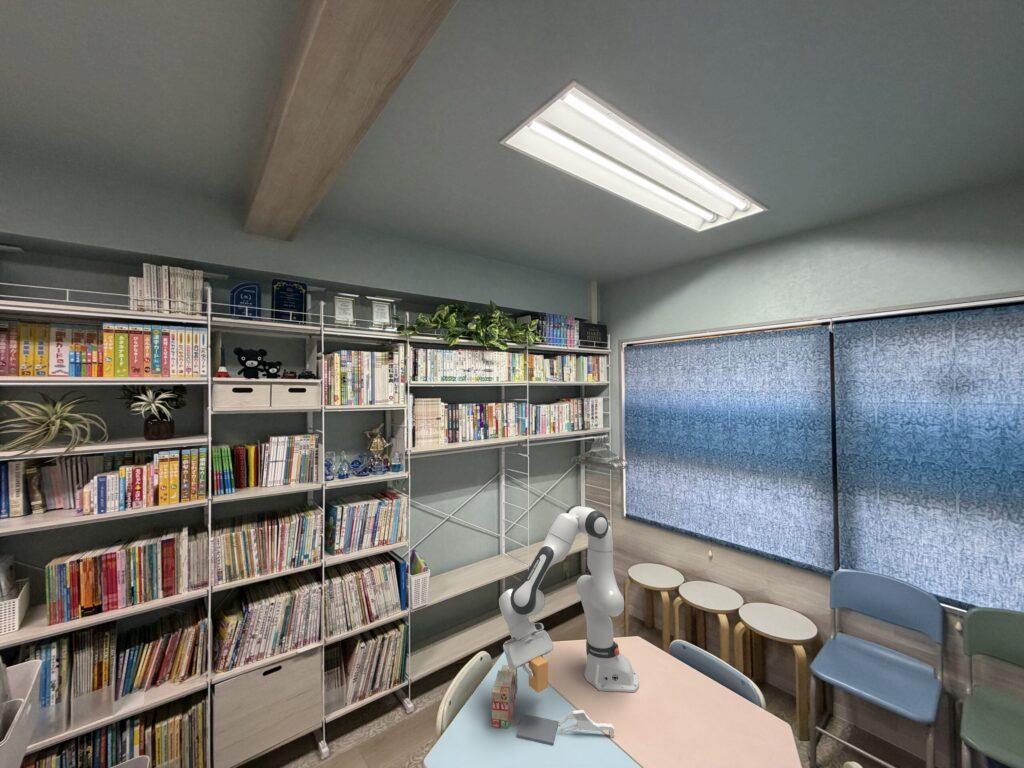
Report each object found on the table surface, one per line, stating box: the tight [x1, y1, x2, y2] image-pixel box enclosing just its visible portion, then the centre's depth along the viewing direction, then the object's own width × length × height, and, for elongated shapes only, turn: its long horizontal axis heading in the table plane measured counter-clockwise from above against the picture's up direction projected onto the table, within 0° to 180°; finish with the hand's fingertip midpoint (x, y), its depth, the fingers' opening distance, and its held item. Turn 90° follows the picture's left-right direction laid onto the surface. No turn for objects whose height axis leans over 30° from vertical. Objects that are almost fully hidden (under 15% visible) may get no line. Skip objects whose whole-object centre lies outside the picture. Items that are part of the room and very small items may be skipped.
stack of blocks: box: [491, 664, 519, 730], centre depth 151 cm, size 21×6×12 cm, turn 170°
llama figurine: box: [558, 709, 615, 738], centre depth 138 cm, size 2×11×18 cm
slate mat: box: [515, 713, 559, 746], centre depth 139 cm, size 13×10×1 cm
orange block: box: [528, 656, 549, 694], centre depth 144 cm, size 5×5×9 cm
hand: (539, 673), depth 144 cm, fingers closed on orange block, 5 cm apart
